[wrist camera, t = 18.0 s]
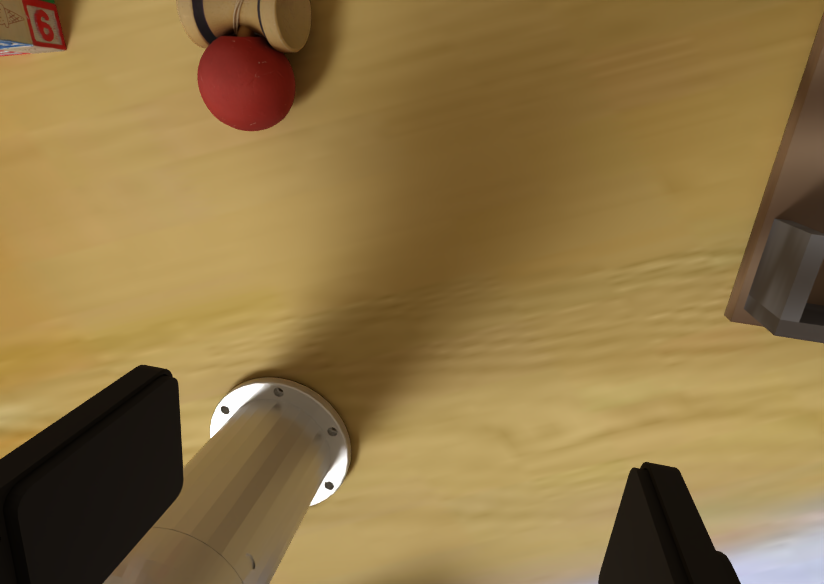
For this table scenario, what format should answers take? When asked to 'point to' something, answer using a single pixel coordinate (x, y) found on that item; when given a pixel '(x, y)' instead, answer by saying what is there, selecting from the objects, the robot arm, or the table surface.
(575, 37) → the table surface
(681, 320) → the table surface
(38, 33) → the stack of blocks
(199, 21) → the kendama
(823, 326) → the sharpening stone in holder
